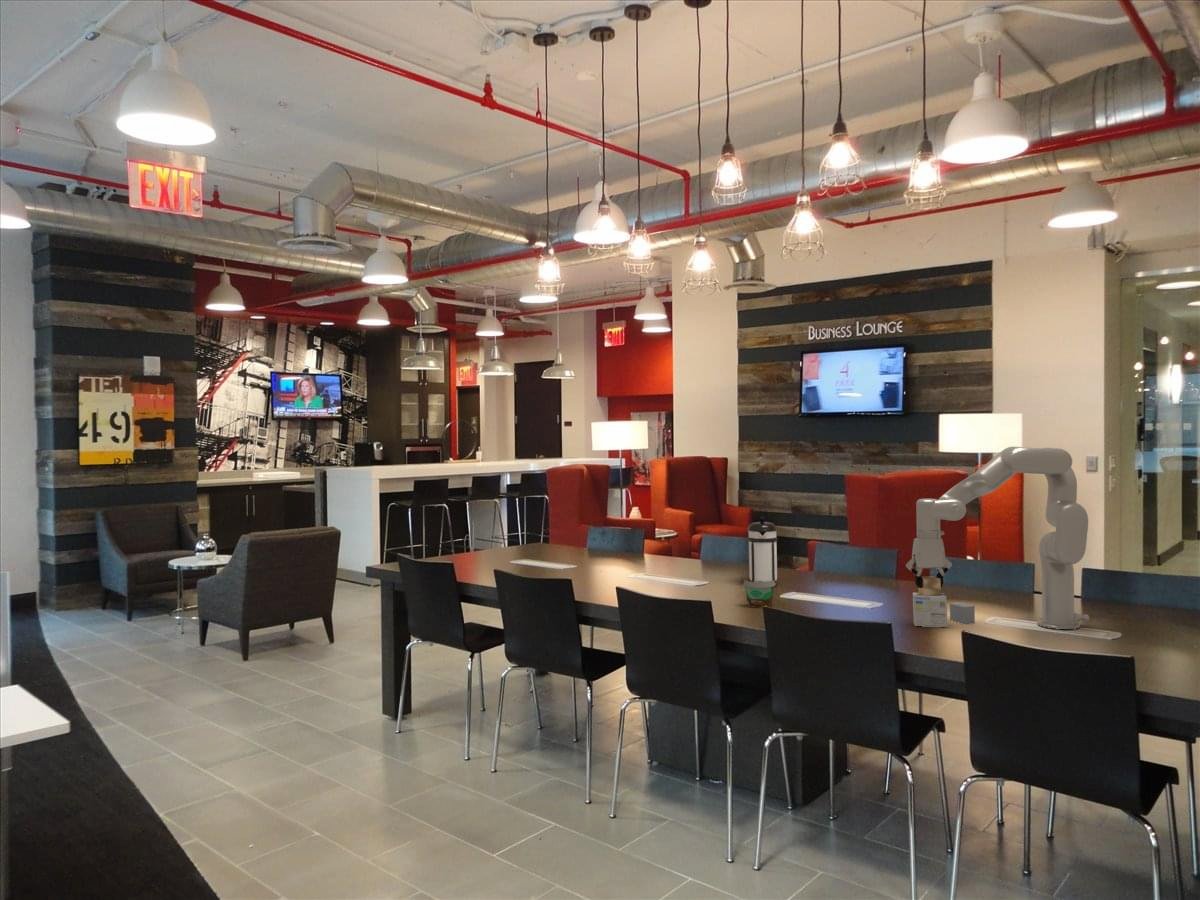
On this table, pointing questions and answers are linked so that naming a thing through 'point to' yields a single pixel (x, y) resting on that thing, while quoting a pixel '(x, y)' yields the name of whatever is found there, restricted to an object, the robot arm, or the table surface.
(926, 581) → the oak cube
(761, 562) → the coffee press
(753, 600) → the food container
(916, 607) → the light bulb box
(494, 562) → the table surface
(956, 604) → the slate block
